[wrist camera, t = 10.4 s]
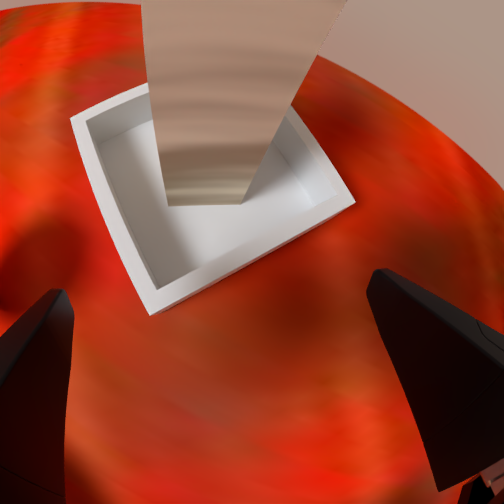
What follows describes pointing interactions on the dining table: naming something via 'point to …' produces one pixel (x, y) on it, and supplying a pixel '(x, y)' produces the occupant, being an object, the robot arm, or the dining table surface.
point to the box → (203, 216)
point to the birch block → (225, 86)
